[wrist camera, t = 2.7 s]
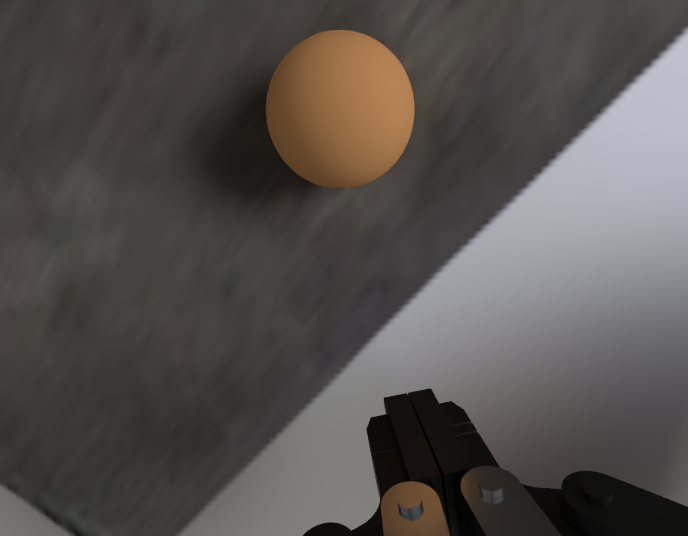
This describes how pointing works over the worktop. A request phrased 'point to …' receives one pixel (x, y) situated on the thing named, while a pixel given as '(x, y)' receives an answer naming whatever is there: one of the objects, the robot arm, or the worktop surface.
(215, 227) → the worktop surface
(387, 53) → the ball
